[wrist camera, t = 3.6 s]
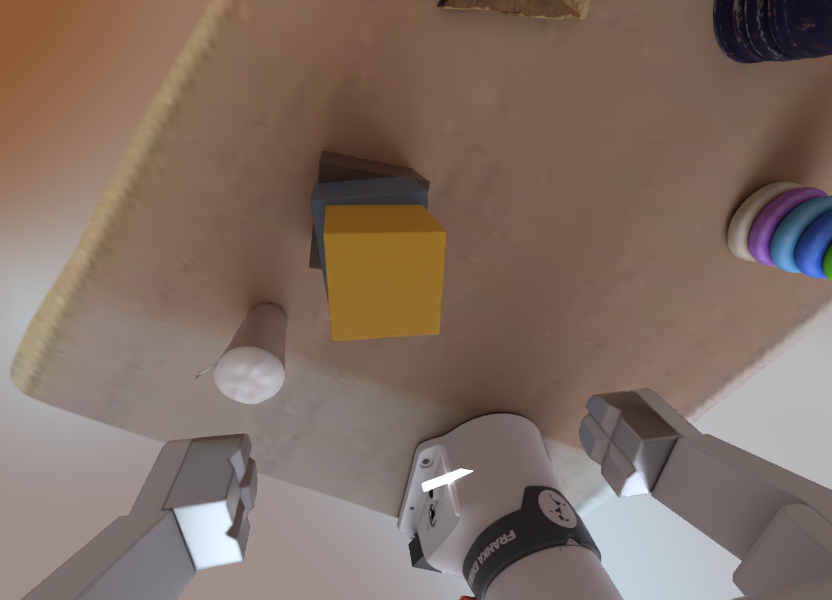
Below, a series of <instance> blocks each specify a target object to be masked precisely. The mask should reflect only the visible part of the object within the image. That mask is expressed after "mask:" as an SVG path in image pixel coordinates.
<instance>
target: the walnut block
mask: <svg viewBox="0 0 832 600" xmlns="http://www.w3.org/2000/svg"><path fill="white" fill-rule="evenodd" d="M397 176H411V177H412V178H413V179H414V180H416V181H417V182H418V183H419V184H420V185H421V186H422V187H424V188H425V189H426V190H427V193H428V189H429V184H430V182H429V181H428V180H426V179H425V178H424V177H422V176H421V175H420V174H419V173H417V172H416V171H415V170H413V169H410V168H405V167H401V166H396V165H391V164H386V163H381V162H376V161H371V160H366V159H361V158H356V157H351V156H346V155H341V154H336V153H331V152H326V151H322V154H321V158H320V162H319V172H318V182H317V183H325V182H337V181H349V180H361V179H373V178H385V177H397ZM309 268H316V269H322V265H321V259H320V254H319V248H318V242H317V237H316V231H315V225H314V222H313V232H312V242H311V252H310V262H309Z"/></svg>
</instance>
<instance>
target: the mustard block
mask: <svg viewBox="0 0 832 600" xmlns="http://www.w3.org/2000/svg"><path fill="white" fill-rule="evenodd" d="M446 236H447V231H446V230H445V229H444V228H443V227H442V226H441V225H440V224H439V222H438V221H437V220H436V219H435V218H434V217H433V216H432V215H431V214H430V213H429V212H428V210H427V209H426V208H425V207H424V206H423V205H326V210H325V223H324V247H325V260H326V274H327V288H328V301H329V315H330V328H331V340H332V341H345V340H359V339H373V338H387V337H401V336H415V335H430V334H439V331H440V317H441V303H442V290H443V276H444V263H445V249H446Z"/></svg>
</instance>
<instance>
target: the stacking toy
mask: <svg viewBox="0 0 832 600" xmlns="http://www.w3.org/2000/svg"><path fill="white" fill-rule="evenodd" d="M727 242H728V246H729V248H730V250H731V252H732V253H733V254H734V255H735V256H737V257H738V258H740V259H743V260H747V261H758V262H760V263H762V264H765V265H769V266H777V267H778V268H780V269H782V270H784V271H787V272H793V273H799V272H802V273H803V274H805V275H807V276H810V277H813V278H828V279H829V280H830V281H832V196H828V195H827V194H826V193H825V192H824V191H822V190H820V189H817V188H811V187H803V186H802V185H800V184H798V183H795V182H791V181H780V182H775V183H771V184H769V185H766V186H764V187H762V188H760V189H759V190H757V191H756V192H754V193H753V194H752V195H751V196H749V197H748V198H747V199H746V200H745V201H744V202H743V203H742V205H741V206H740V207H739V208H738V210H737V211H736V213H735V214H734V216H733V218H732V220H731V223H730V225H729V229H728V234H727Z"/></svg>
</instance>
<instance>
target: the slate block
mask: <svg viewBox="0 0 832 600" xmlns="http://www.w3.org/2000/svg"><path fill="white" fill-rule="evenodd" d="M310 202H311V208H312V214H313V219H314V225H315V231H316V237H317V242H318V248H319V254H320V259H321V265H322V271H323V276H324V282H325V288H326V294H327V299H328V288H327V274H326V260H325V247H324V223H325V210H326V205H423V206H424V207H425V208H426V209H427V210H428V203H427V190H426V189H425V188H424V187H422V186H421V185H420V184H419V183H418V182H417V181H416V180H414V179H413V178H412V177H411V176H397V177H385V178H373V179H361V180H349V181H337V182H325V183H315V185H314V189H313V193H312V197H311V201H310ZM328 304H329V301H328Z"/></svg>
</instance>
